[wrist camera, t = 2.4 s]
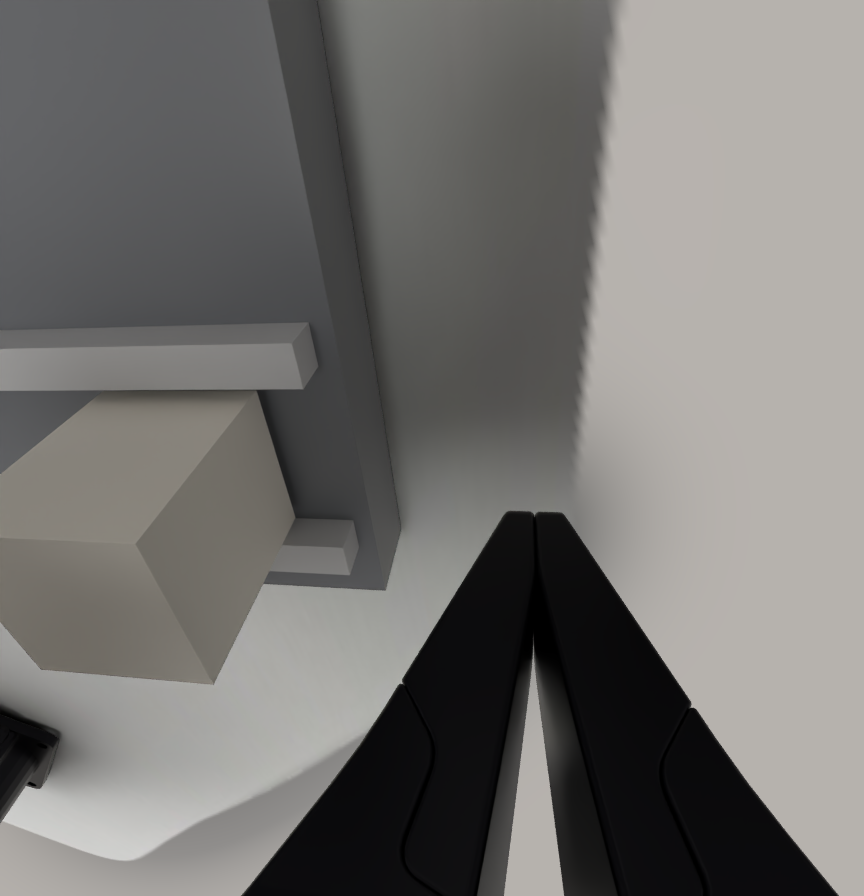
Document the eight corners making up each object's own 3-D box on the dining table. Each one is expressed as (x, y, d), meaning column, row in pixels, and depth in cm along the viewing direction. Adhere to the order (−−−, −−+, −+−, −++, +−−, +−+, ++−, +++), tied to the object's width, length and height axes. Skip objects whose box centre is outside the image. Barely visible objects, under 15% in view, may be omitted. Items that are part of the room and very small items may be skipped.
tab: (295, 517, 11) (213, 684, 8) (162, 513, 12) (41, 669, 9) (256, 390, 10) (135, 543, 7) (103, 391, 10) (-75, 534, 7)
